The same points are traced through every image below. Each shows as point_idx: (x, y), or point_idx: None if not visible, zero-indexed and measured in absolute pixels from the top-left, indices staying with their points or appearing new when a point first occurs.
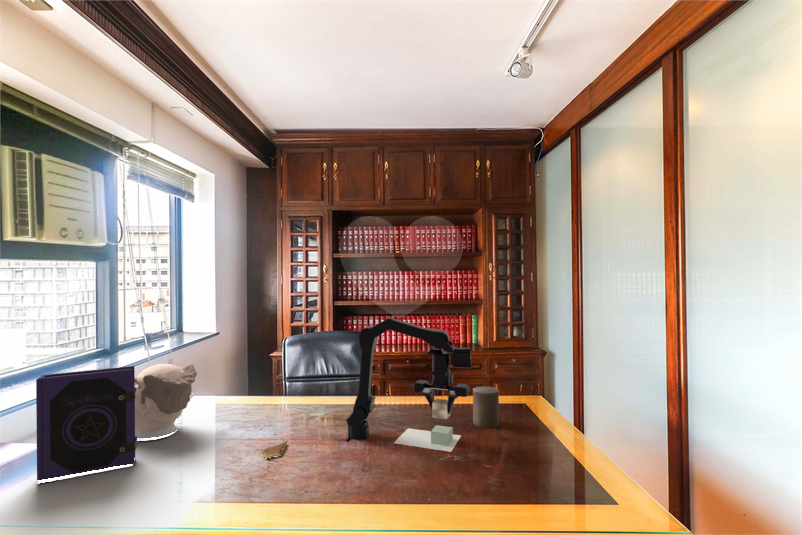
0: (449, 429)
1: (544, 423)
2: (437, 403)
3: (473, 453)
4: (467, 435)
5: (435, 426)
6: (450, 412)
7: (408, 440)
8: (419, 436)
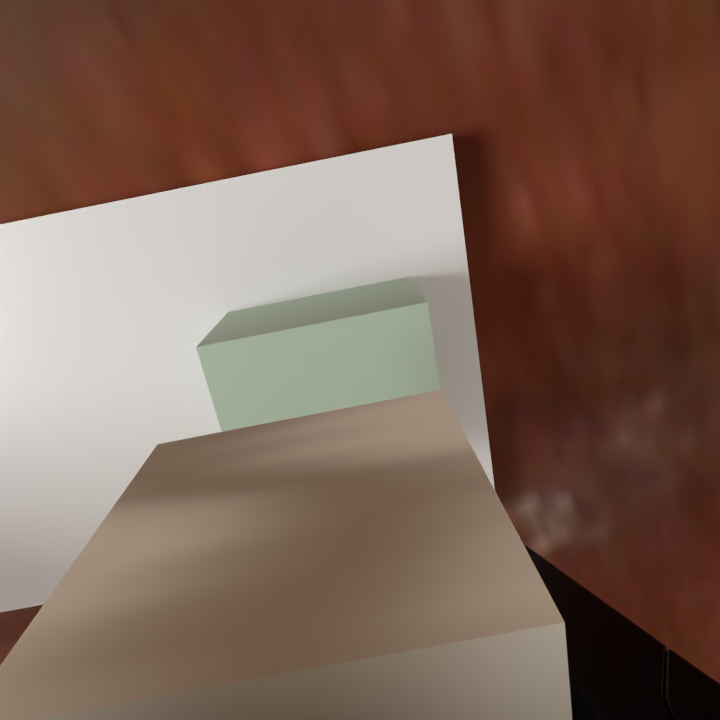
0: (418, 384)
1: None
2: None
3: (648, 396)
4: (477, 7)
5: (213, 386)
6: (449, 406)
7: (63, 517)
8: (84, 394)
